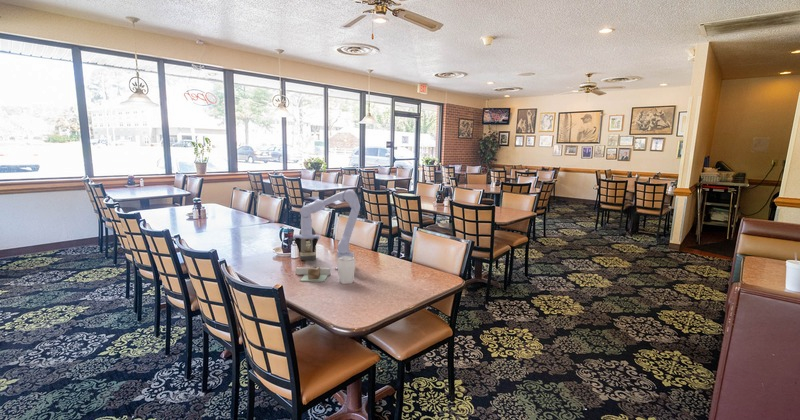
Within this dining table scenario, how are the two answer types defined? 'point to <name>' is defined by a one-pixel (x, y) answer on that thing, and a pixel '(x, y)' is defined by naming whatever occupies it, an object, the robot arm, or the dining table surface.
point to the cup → (346, 269)
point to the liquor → (307, 248)
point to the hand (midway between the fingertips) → (306, 251)
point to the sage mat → (321, 279)
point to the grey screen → (305, 270)
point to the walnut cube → (314, 272)
